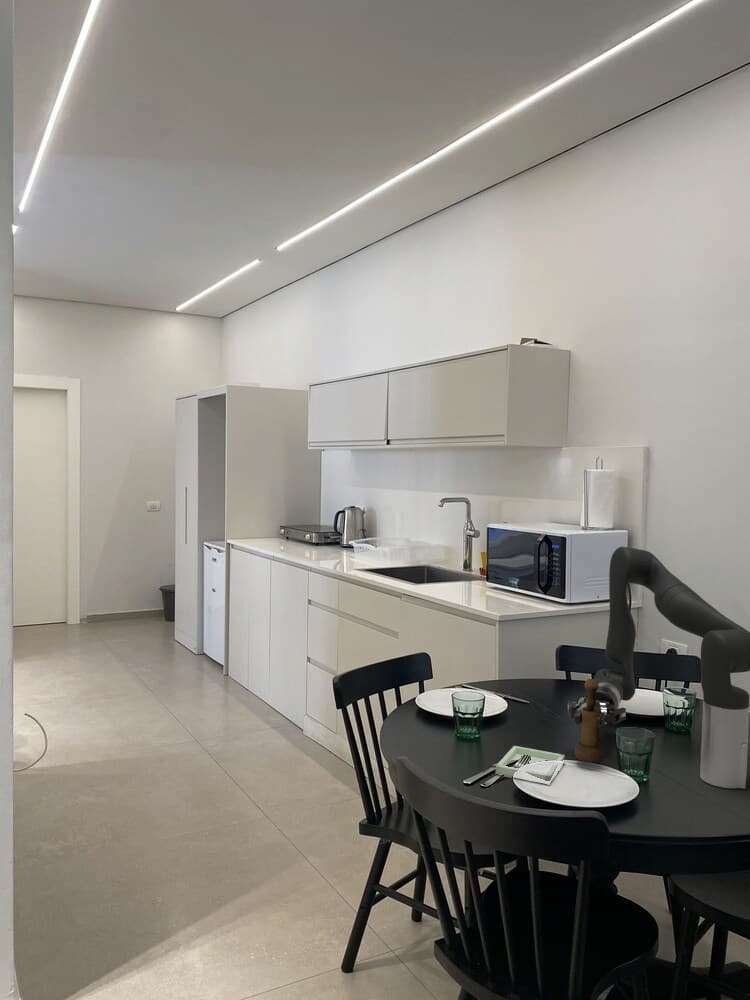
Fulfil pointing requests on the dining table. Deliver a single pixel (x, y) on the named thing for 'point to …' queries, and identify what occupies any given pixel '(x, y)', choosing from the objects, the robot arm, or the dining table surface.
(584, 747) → the mortar and pestle
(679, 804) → the dining table surface
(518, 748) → the tray
